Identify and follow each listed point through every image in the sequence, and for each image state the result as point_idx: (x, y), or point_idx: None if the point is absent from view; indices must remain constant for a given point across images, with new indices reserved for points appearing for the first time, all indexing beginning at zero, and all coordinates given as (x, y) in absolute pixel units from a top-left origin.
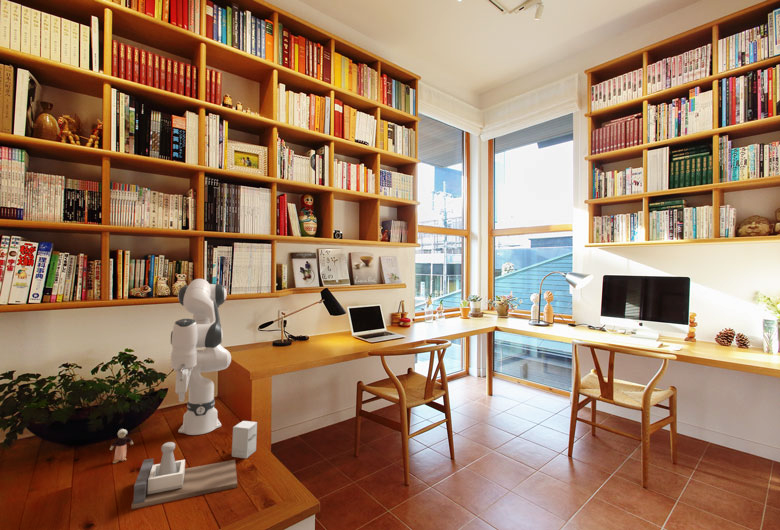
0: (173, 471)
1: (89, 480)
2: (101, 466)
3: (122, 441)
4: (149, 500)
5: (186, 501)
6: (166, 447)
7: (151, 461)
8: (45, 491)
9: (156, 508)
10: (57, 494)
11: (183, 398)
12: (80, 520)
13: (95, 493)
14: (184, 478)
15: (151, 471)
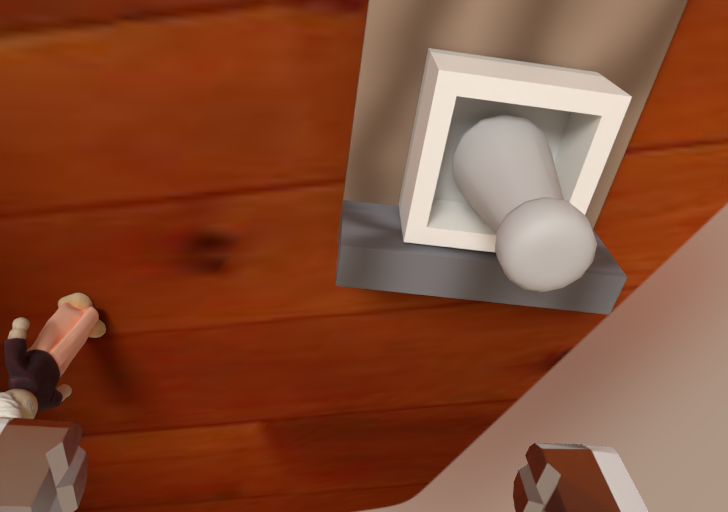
0: (545, 142)
1: (236, 386)
2: (120, 365)
3: (43, 379)
4: (595, 211)
5: (688, 49)
6: (586, 267)
7: (379, 254)
8: (259, 469)
9: (638, 176)
10: (298, 444)
11: (636, 505)
12: (522, 379)
13: (356, 362)
14: (488, 51)
15: (483, 247)
